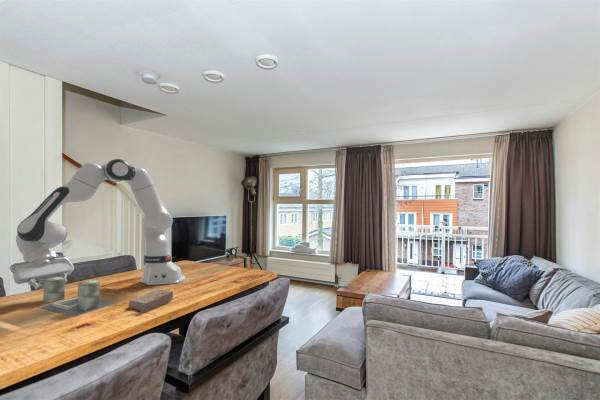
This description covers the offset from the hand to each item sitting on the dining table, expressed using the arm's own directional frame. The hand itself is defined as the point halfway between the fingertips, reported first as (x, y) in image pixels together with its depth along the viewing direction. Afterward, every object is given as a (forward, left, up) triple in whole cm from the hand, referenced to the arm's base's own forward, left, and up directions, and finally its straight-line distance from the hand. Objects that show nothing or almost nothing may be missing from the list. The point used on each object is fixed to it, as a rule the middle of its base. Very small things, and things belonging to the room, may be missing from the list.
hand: (52, 285), depth 120 cm
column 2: (-20, +12, -6) cm, 24 cm away
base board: (-15, +9, -7) cm, 19 cm away
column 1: (-1, +1, -7) cm, 7 cm away
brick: (-42, +7, -8) cm, 44 cm away
